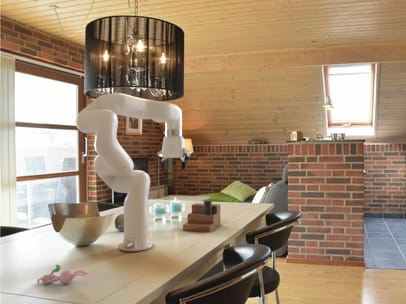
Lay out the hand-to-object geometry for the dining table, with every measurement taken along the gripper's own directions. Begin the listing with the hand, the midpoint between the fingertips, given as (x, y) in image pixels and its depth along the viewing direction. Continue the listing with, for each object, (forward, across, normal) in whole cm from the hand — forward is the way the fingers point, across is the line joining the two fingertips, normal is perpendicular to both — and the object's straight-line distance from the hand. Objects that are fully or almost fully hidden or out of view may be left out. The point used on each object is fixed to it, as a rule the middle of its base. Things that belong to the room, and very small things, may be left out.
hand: (174, 170), depth 164 cm
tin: (+31, -27, +3) cm, 41 cm away
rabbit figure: (+31, -5, -64) cm, 71 cm away
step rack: (+30, +8, +15) cm, 35 cm away
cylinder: (+23, +11, +15) cm, 30 cm away
